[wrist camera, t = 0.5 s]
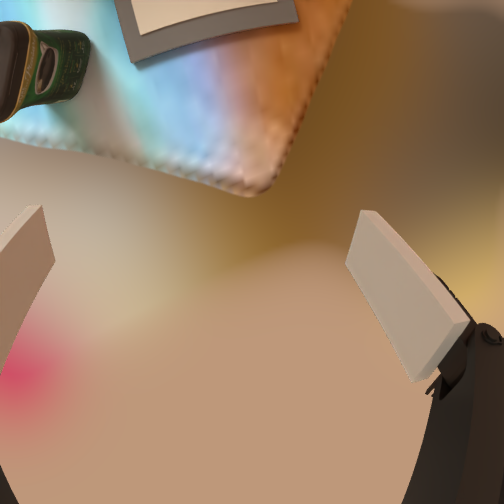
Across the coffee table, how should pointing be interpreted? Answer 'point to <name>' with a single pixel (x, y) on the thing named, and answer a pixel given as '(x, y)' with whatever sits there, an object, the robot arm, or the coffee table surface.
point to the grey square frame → (193, 21)
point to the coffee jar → (39, 66)
